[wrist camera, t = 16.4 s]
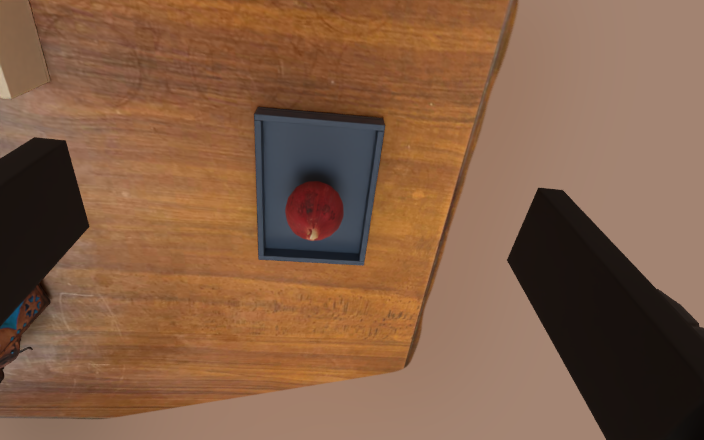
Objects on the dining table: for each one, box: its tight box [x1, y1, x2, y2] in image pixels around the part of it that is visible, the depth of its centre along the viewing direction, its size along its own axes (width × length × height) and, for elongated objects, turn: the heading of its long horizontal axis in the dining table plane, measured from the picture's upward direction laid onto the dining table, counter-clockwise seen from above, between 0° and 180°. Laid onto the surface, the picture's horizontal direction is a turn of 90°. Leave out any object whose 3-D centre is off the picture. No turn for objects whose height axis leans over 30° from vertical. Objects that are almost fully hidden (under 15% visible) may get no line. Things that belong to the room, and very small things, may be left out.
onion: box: [285, 181, 344, 241], centre depth 40 cm, size 6×6×8 cm
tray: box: [254, 107, 385, 265], centre depth 43 cm, size 17×12×2 cm
